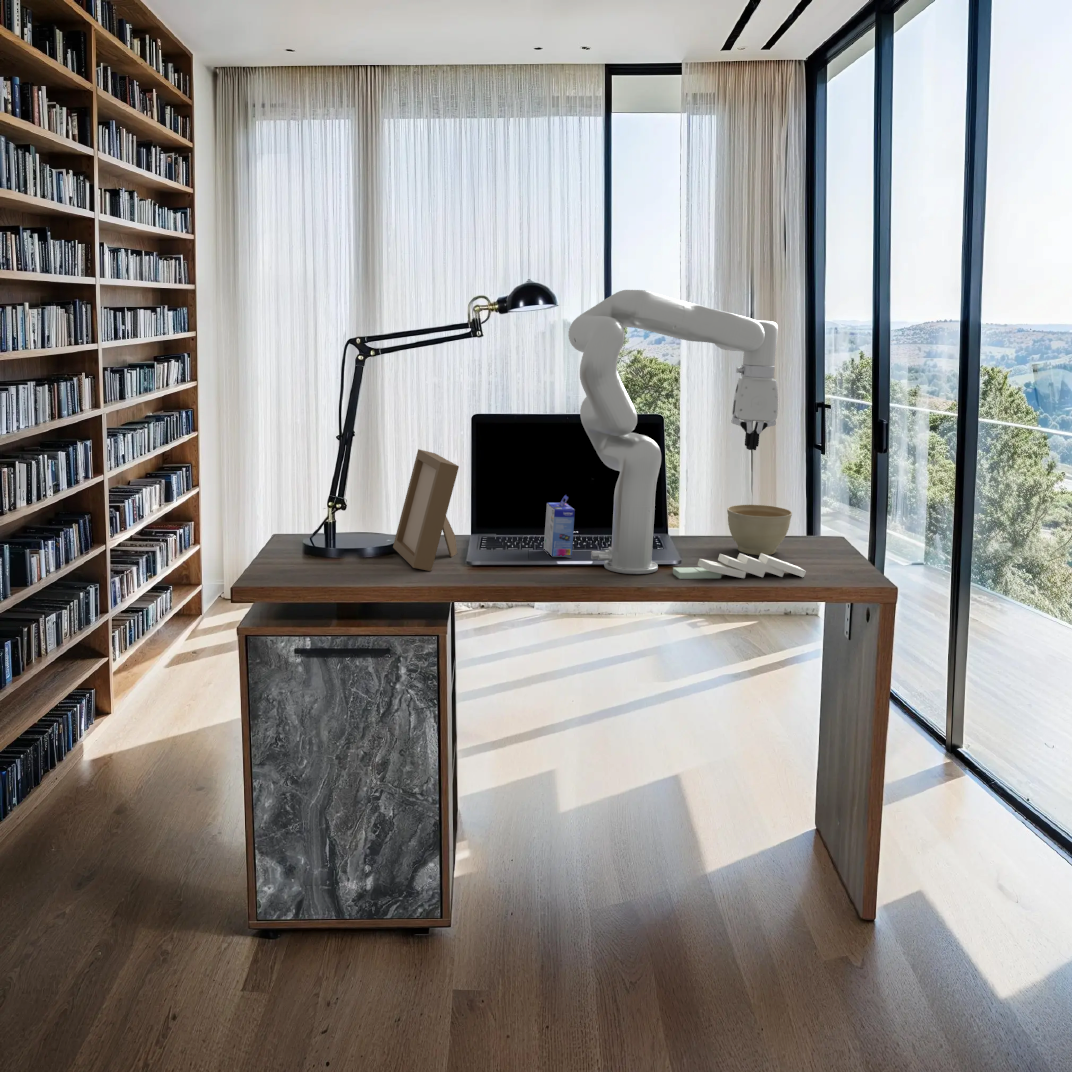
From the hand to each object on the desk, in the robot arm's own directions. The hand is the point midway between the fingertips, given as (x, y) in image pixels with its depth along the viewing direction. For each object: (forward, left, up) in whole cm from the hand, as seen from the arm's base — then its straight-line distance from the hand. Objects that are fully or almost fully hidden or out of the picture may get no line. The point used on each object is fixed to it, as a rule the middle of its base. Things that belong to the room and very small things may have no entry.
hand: (751, 449), depth 275 cm
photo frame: (-76, -1, -28) cm, 81 cm away
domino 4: (+4, -15, -27) cm, 31 cm away
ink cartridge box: (-45, +6, -28) cm, 53 cm away
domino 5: (+9, -15, -27) cm, 32 cm away
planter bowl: (+7, +10, -28) cm, 30 cm away
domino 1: (-11, -16, -27) cm, 33 cm away
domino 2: (-6, -16, -27) cm, 32 cm away
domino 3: (-1, -15, -27) cm, 31 cm away
